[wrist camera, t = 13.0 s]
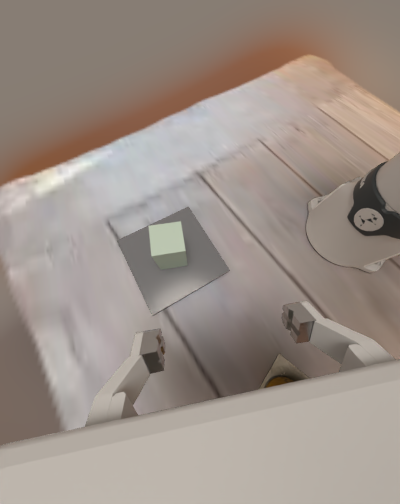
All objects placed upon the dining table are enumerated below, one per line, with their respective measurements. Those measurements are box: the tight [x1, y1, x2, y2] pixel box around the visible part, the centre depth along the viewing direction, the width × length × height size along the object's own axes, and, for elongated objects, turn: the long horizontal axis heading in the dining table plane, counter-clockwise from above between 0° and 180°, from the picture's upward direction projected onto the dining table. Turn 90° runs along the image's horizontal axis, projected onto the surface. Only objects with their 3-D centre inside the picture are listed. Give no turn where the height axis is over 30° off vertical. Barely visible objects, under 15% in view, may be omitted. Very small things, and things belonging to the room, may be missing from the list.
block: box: [149, 221, 187, 270], centre depth 31 cm, size 5×5×8 cm
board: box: [117, 207, 230, 316], centre depth 35 cm, size 16×16×1 cm
